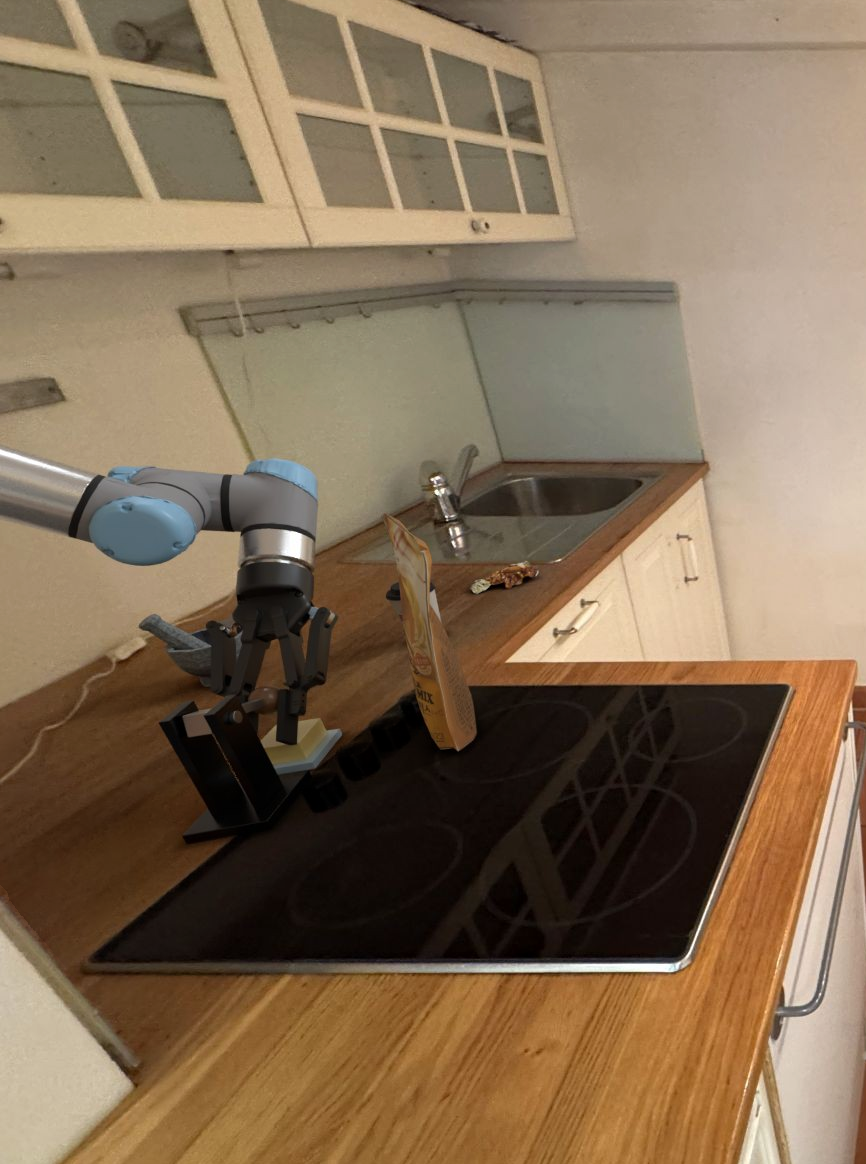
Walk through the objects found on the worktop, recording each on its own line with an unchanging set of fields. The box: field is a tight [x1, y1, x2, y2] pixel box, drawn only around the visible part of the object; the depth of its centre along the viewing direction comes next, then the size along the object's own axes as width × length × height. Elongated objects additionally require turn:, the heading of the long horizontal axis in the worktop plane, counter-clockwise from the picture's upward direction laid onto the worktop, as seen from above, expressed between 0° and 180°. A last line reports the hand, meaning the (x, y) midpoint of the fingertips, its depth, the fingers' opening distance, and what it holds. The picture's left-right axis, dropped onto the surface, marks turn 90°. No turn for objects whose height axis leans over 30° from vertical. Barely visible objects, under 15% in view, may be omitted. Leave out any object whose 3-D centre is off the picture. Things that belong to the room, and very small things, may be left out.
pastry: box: [469, 560, 540, 595], centre depth 150 cm, size 7×12×4 cm, turn 138°
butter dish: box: [260, 717, 343, 775], centre depth 98 cm, size 7×8×4 cm
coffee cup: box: [385, 581, 442, 628], centre depth 127 cm, size 7×7×10 cm
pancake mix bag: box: [380, 512, 478, 752], centre depth 99 cm, size 7×19×28 cm, turn 38°
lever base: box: [158, 694, 313, 845], centre depth 86 cm, size 10×8×14 cm
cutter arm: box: [182, 684, 281, 737], centre depth 89 cm, size 14×4×4 cm, turn 15°
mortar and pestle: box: [137, 613, 243, 688], centre depth 116 cm, size 11×9×12 cm
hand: (266, 745), depth 93 cm, fingers closed on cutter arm, 3 cm apart
